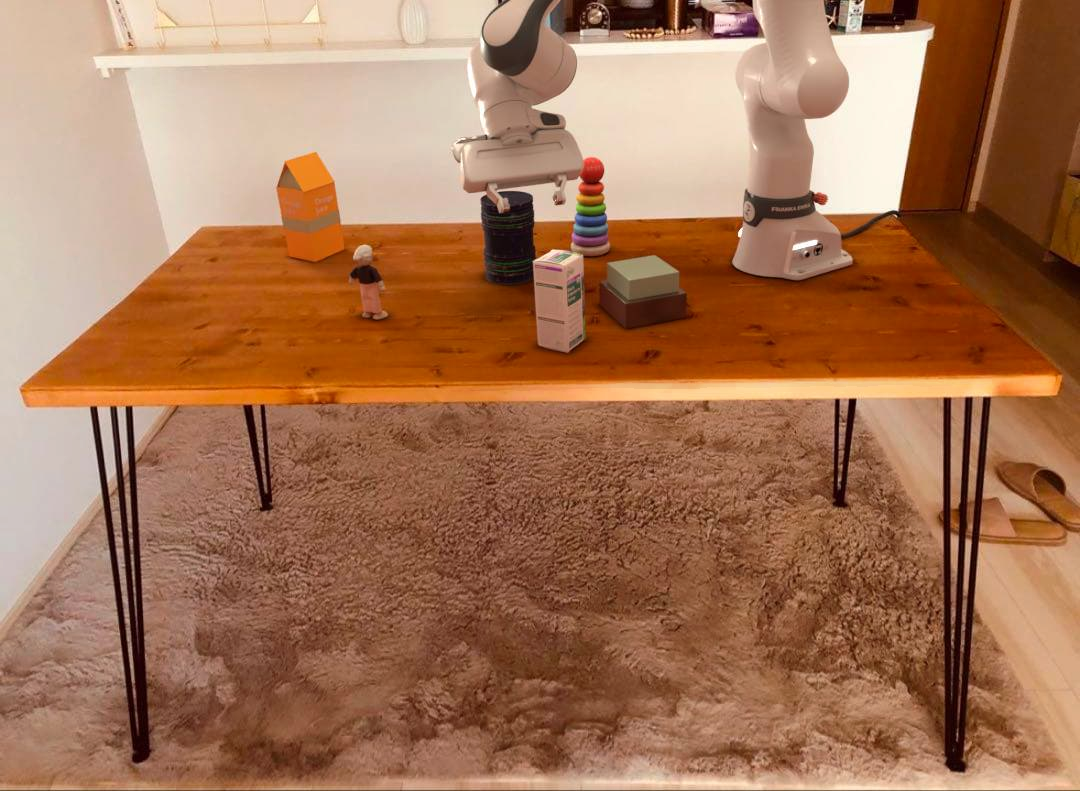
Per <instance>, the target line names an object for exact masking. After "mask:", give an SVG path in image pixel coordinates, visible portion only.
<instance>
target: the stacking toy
mask: <svg viewBox="0 0 1080 791" xmlns="http://www.w3.org/2000/svg"><path fill="white" fill-rule="evenodd" d="M583 161H584V167H583V170H582V172H581V174H580V176H579V178H580V180H581V181H582V182H580V183H579V184H578V187H577V188H578V189H577V190H578V192H579V193H577V195H576V201H577V204H576V205H575V210H576V213H575V215H574V222H575V223H574V224H573V232H572V234H571V241H572V242H571V244H570V249H571V250H570V251H571V252H576V253H580V254H582V255H583V257H597V256H598V257H599V256H602V255H605V254H606V253H608V252H609V251H610V250H611V243H610V241H609V238H610V235H609V233H608V231H609V224H608V223H607V221H608V215H607V213H606V210H607V205H606V203H605V202H604V201H605V195H604V193H603V192H604V190H605V185H604V182H601V180H602V179H603V178H604V174H605V165H604V164H603V162H602V160H600V159H599V158H597V157H594V156H589V157H585V158H583Z"/></svg>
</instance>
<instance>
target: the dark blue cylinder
mask: <svg viewBox="0 0 1080 791" xmlns="http://www.w3.org/2000/svg"><path fill="white" fill-rule="evenodd" d="M497 193H498V194H499V195H500V196H501V197H502V198H508V203H509V205H510V210H509V212H505V213H499V210H498V207H497V204H495V203H494V202H493V201H492V200H491V199H490V198H489V197H487V194H484V195H482V196H481V197H480V205H481V206H480V218H481V219H480V220H481V228H482V229H481V230H482V231H483V236H484V248H483V262H484V263H483V265H484V269H485V271H486V272H485V278H486V280H487V281H488V282H491V283H493V284H497V285H518V284H524V283H527V282H529V281H532V280H534V270H533V261H534V260H536V259H537V254H536V251H537V249H536V246H535V242H534V228H535V223H536V221H535V210H534V204H533V203H534V196H533V195H532V194H531V193H529V192H526V191H519V190H501V191H497Z"/></svg>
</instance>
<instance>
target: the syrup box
mask: <svg viewBox="0 0 1080 791" xmlns="http://www.w3.org/2000/svg"><path fill="white" fill-rule="evenodd" d="M533 270H534V278H533V285H534V286H533V287H534V302H535V303H534V304H535V319H536V336H537V345H538V346H539V347H542V348H545V349H549V350H553V351H557V352H562V353H566V354H568V353H570V351H571V350H573V349H574V348H576V347H577V346H578V345H579V344H581V343H582V342H583V341H586V338H587V334H586V330H587V329H586V302H585V298H586V297H585V276H584V275H585V266H584V256H583V255H582V254H580V253H576V252H573V251H572V250H565V249H551V250H550V251H549V252H547V253H546V254H544V255H542V256H539V257H538V258H536V260H534V261H533Z"/></svg>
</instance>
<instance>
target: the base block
mask: <svg viewBox="0 0 1080 791" xmlns="http://www.w3.org/2000/svg"><path fill="white" fill-rule="evenodd" d="M598 287H599V291H598V294H599V299H598V300H599V301H598V302H599V304H598V305H599V306H600V308H601V309H602V310H604V311H605V312H606V313H607V314H608V315H609V316H611V318H613V319H614V320H615V321H616V322H618V323H619V325H620V326H622V327H623V328H624V329H625V330H628V329H634V328H639V327H644V326H649V325H656V324H660V323H666V322H670V321H677V320H680V319H681V320H682V319H686V317H687V316H686V315H687V302H688V301H687V300H688V299H687V298H688V293H687V292H686V291H685V290H684V289H682V288H680V287H679V291H678V292H673V293H668V294H662V295H657V296H651V297H645V298H640V299H634V300H628V299H627V298H626V297H625V296H623V295H622V294H621V293H620V292H619V291H617V290H616V289H615V288H614V287H612V286H611V285H610V284H609V283H608V282H607V279H603V280H599V283H598Z"/></svg>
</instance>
